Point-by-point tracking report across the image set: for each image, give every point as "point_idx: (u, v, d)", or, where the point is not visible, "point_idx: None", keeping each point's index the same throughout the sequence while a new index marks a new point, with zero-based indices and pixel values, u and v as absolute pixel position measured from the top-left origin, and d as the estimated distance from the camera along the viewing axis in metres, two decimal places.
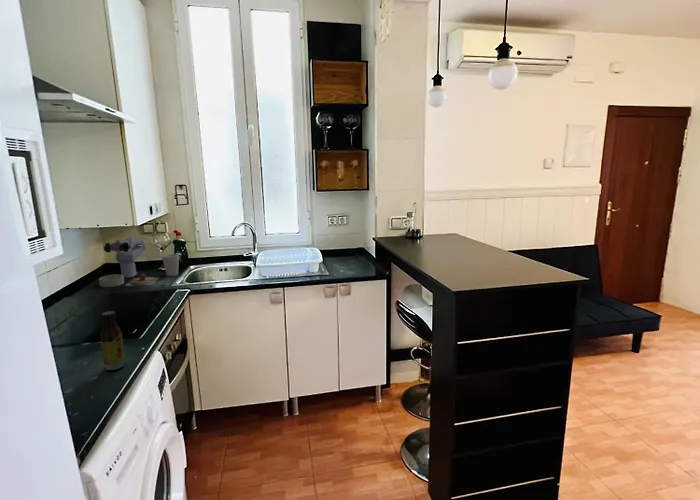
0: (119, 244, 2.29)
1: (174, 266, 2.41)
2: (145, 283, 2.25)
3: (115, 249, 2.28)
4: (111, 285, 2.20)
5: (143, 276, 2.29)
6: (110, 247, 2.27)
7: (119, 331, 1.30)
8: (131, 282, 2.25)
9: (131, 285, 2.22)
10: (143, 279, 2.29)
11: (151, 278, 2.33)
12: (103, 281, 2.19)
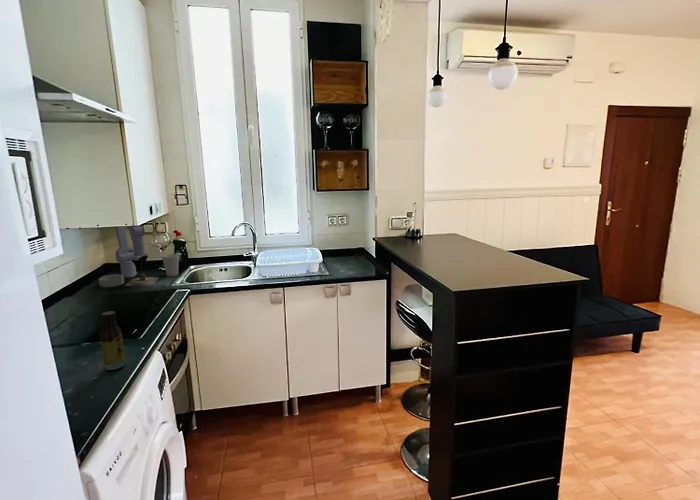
0: None
1: (174, 266, 2.41)
2: (145, 283, 2.25)
3: None
4: (111, 285, 2.20)
5: (143, 276, 2.29)
6: None
7: (119, 331, 1.30)
8: (131, 282, 2.25)
9: (131, 285, 2.22)
10: (143, 279, 2.29)
11: (151, 278, 2.34)
12: (103, 281, 2.19)
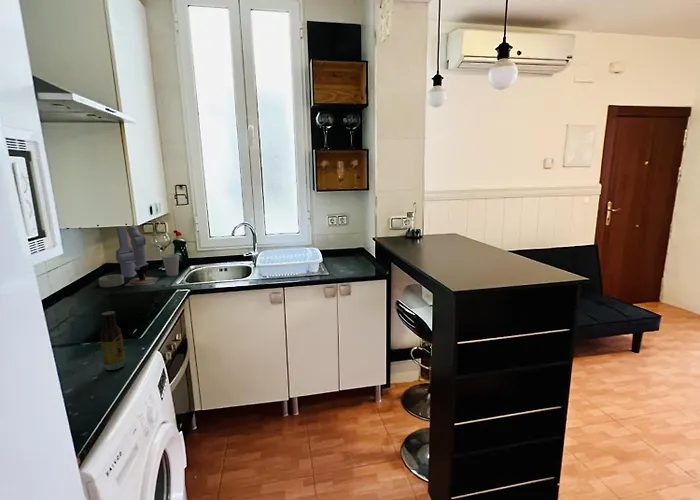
0: None
1: (174, 266, 2.41)
2: (145, 283, 2.25)
3: None
4: (111, 285, 2.20)
5: None
6: None
7: (119, 331, 1.30)
8: (131, 282, 2.25)
9: (131, 285, 2.22)
10: (143, 279, 2.29)
11: (151, 278, 2.34)
12: (103, 281, 2.19)
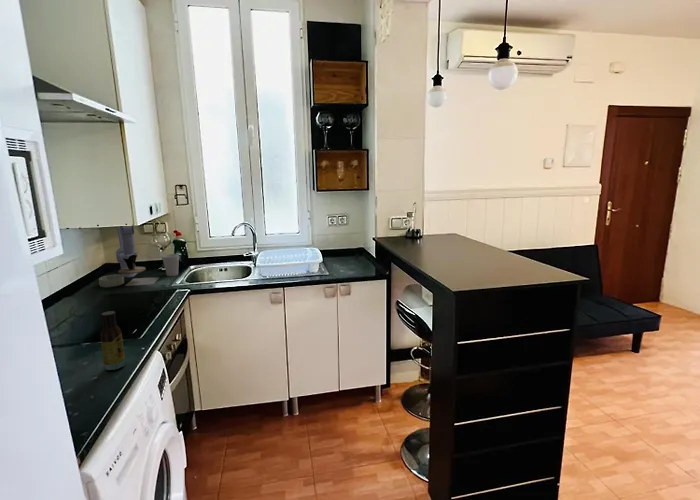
0: None
1: (174, 266, 2.41)
2: (134, 272, 2.22)
3: None
4: (111, 285, 2.20)
5: None
6: (127, 256, 2.22)
7: (119, 331, 1.30)
8: (120, 271, 2.22)
9: (131, 285, 2.22)
10: None
11: (141, 268, 2.31)
12: (103, 281, 2.19)
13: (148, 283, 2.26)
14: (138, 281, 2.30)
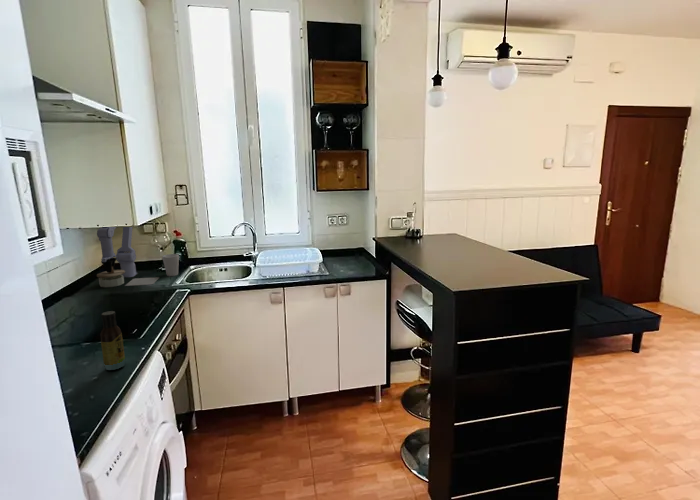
0: None
1: (174, 266, 2.41)
2: (113, 276, 2.19)
3: None
4: (111, 285, 2.20)
5: None
6: (105, 259, 2.18)
7: (119, 331, 1.30)
8: (98, 275, 2.19)
9: (131, 285, 2.22)
10: (111, 272, 2.23)
11: (120, 271, 2.27)
12: (103, 281, 2.19)
13: (148, 283, 2.26)
14: (138, 281, 2.30)
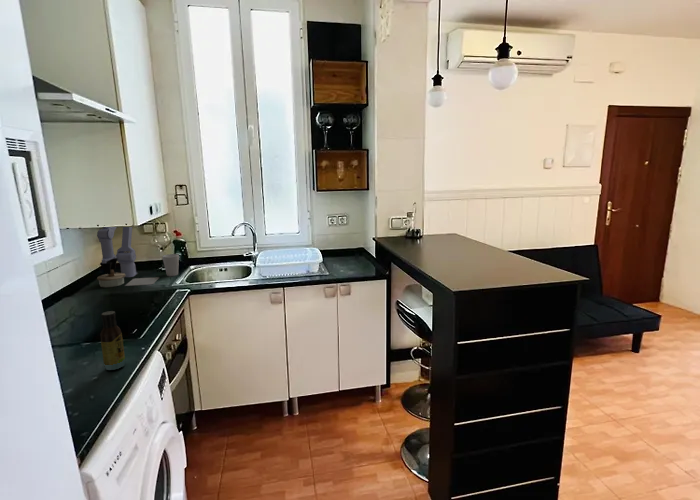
0: None
1: (174, 266, 2.41)
2: (113, 279, 2.19)
3: None
4: (111, 285, 2.20)
5: (112, 272, 2.23)
6: None
7: (119, 331, 1.30)
8: (99, 278, 2.19)
9: (131, 285, 2.22)
10: (112, 275, 2.23)
11: (120, 274, 2.28)
12: (103, 281, 2.19)
13: (148, 283, 2.26)
14: (138, 281, 2.30)
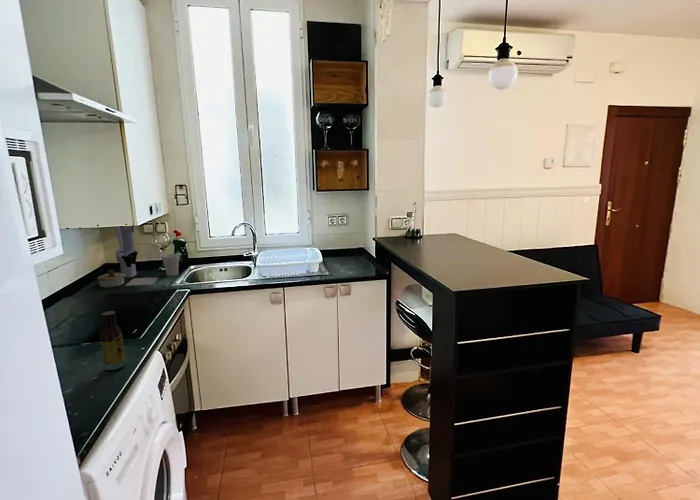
0: None
1: (174, 266, 2.41)
2: (113, 279, 2.19)
3: None
4: (111, 285, 2.20)
5: (112, 272, 2.23)
6: None
7: (119, 331, 1.30)
8: (99, 278, 2.19)
9: (131, 285, 2.22)
10: (112, 275, 2.23)
11: (120, 274, 2.28)
12: (103, 281, 2.19)
13: (148, 283, 2.26)
14: (138, 281, 2.30)
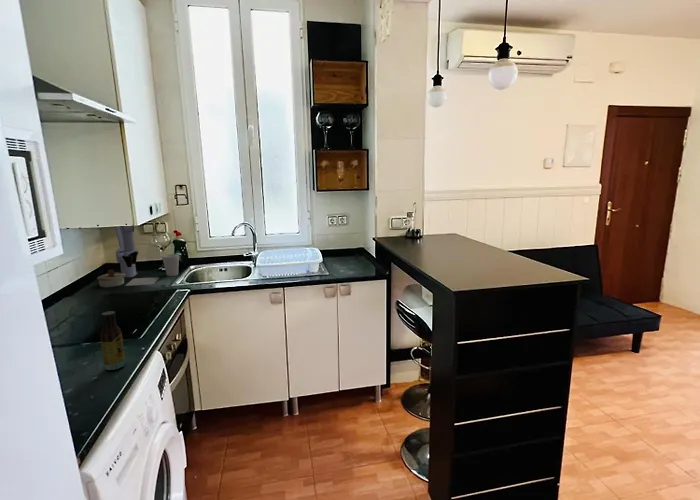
0: None
1: (174, 266, 2.41)
2: (113, 279, 2.19)
3: None
4: (111, 285, 2.20)
5: (112, 272, 2.23)
6: None
7: (119, 331, 1.30)
8: (99, 278, 2.19)
9: (131, 285, 2.22)
10: (112, 275, 2.23)
11: (120, 274, 2.28)
12: (103, 281, 2.19)
13: (148, 283, 2.26)
14: (138, 281, 2.30)
